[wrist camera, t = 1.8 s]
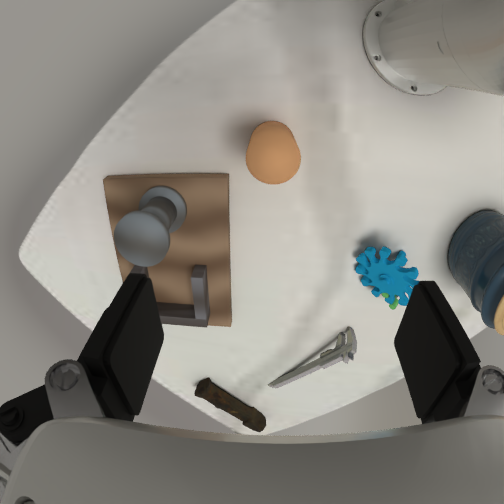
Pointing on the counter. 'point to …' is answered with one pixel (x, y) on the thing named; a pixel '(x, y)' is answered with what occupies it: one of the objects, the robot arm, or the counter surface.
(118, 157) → the counter surface
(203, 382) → the hand tool
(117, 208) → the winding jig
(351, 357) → the caliper
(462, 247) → the canister
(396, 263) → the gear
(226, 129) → the counter surface
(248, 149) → the tan oval solid
